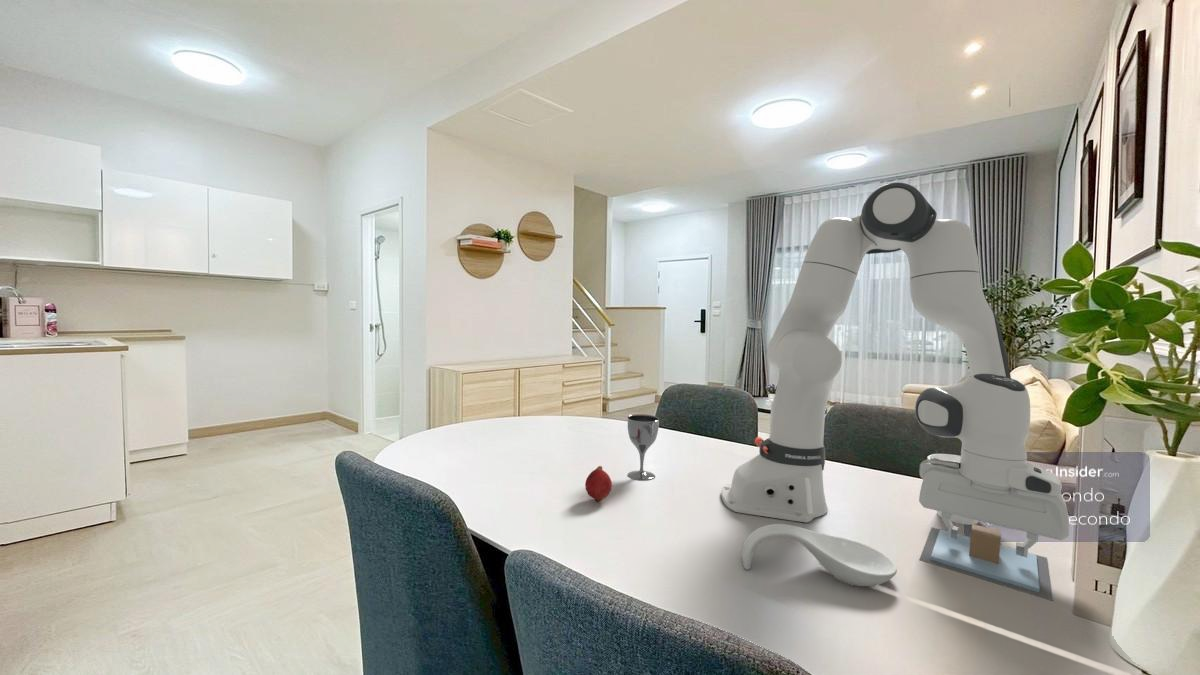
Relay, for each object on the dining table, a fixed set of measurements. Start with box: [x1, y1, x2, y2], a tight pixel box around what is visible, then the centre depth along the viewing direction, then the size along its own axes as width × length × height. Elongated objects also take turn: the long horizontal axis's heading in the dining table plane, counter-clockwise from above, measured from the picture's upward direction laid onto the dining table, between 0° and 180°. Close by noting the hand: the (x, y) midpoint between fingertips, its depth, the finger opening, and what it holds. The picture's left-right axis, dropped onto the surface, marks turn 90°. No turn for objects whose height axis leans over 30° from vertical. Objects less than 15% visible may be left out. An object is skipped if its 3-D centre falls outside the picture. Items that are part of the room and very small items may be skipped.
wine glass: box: [627, 413, 660, 482], centre depth 123 cm, size 8×8×15 cm
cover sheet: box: [931, 524, 1040, 592], centre depth 84 cm, size 14×14×5 cm
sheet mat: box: [918, 527, 1054, 602], centre depth 85 cm, size 17×17×1 cm
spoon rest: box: [740, 523, 898, 587], centre depth 80 cm, size 24×12×7 cm, turn 82°
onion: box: [584, 465, 613, 503], centre depth 106 cm, size 6×6×8 cm
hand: (985, 545), depth 85 cm, fingers open, 8 cm apart
